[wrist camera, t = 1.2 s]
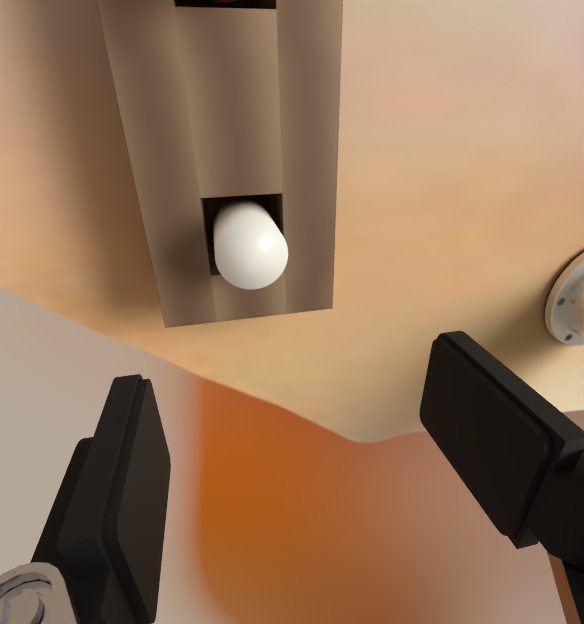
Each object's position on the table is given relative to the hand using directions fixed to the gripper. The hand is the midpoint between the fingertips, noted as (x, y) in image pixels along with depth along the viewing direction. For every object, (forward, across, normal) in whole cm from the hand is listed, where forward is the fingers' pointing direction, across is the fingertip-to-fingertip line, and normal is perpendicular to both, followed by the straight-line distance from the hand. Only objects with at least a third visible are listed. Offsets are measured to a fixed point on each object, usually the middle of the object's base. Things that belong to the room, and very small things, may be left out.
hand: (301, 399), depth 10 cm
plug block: (+22, 0, -7) cm, 23 cm away
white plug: (+17, 0, 0) cm, 17 cm away
